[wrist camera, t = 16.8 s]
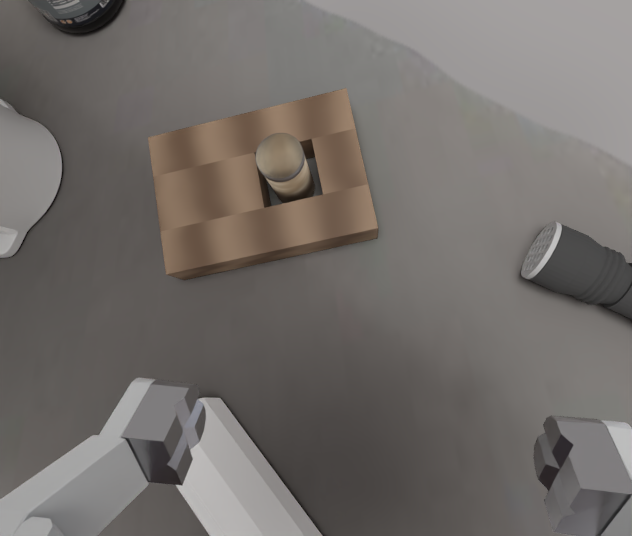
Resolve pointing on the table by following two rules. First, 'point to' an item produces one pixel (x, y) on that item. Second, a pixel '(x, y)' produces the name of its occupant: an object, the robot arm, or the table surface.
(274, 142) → the beech pin
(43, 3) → the supplement container
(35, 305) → the table surface
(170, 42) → the table surface
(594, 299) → the flashlight
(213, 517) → the white faceted prism
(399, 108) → the table surface
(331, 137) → the socket block
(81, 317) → the table surface
